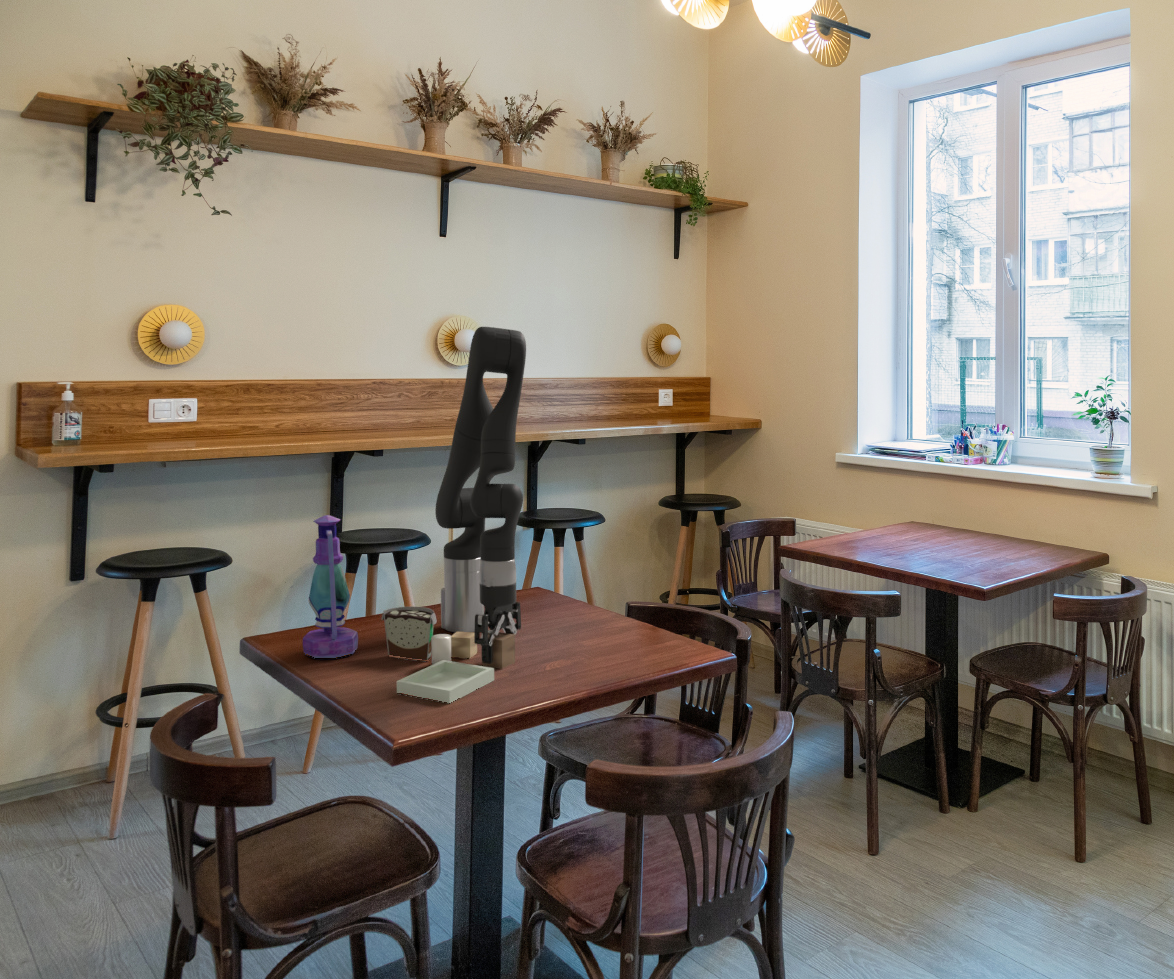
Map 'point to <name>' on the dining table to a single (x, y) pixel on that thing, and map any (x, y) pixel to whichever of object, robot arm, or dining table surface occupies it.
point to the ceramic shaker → (441, 648)
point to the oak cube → (463, 645)
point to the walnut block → (502, 650)
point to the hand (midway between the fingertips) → (498, 657)
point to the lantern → (329, 597)
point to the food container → (409, 631)
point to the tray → (446, 681)
